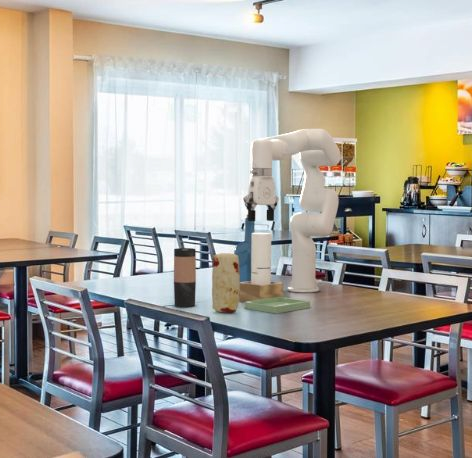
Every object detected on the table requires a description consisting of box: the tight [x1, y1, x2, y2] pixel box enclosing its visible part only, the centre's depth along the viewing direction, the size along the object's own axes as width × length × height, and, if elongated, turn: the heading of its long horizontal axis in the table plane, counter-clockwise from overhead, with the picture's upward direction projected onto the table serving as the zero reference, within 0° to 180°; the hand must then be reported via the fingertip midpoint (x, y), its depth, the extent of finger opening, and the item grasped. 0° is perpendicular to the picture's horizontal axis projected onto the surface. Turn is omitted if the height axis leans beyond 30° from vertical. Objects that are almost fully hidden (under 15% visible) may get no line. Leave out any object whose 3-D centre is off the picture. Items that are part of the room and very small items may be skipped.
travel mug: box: [173, 247, 197, 308], centre depth 274 cm, size 8×8×20 cm
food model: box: [211, 252, 240, 314], centre depth 261 cm, size 10×7×20 cm
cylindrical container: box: [251, 232, 272, 285], centre depth 284 cm, size 7×7×25 cm
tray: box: [244, 296, 311, 314], centre depth 271 cm, size 18×15×2 cm
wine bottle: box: [233, 213, 256, 282], centre depth 328 cm, size 14×13×30 cm
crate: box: [238, 280, 284, 304], centre depth 285 cm, size 12×12×7 cm
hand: (261, 220), depth 283 cm, fingers open, 9 cm apart
